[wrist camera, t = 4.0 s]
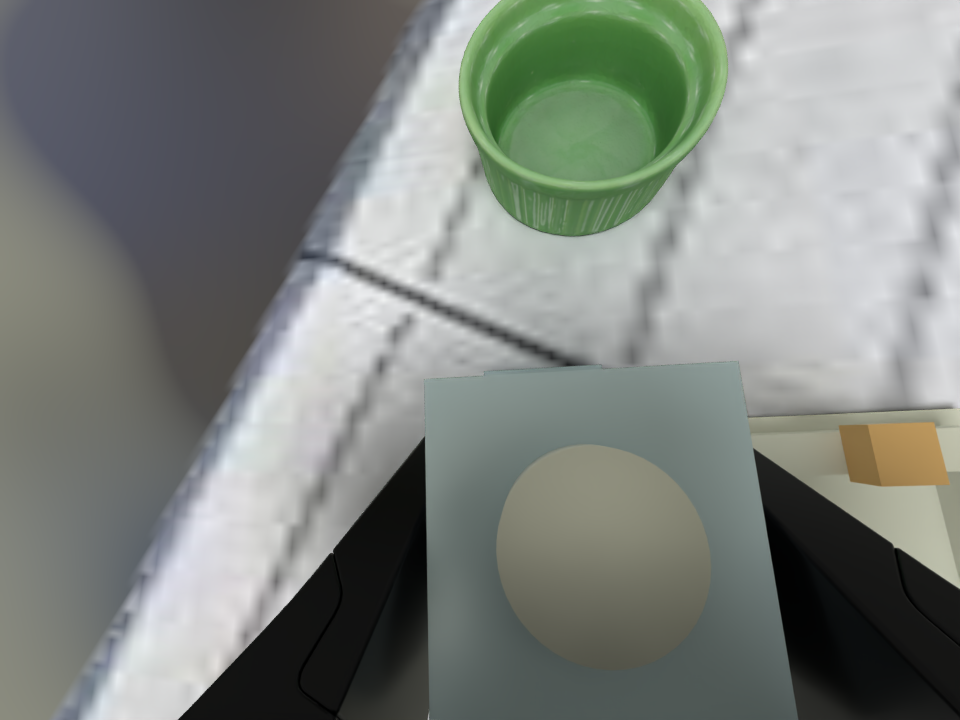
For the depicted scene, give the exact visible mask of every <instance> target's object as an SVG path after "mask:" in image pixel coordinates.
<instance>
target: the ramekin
mask: <svg viewBox="0 0 960 720" xmlns="http://www.w3.org/2000/svg"><path fill="white" fill-rule="evenodd" d="M727 76H728V58H727V50H726V45H725V42H724V39H723V36H722V33H721V30H720V28H719V26H718V24H717V22H716V21H715V19H714V17H713V15H712V13H711V12H710V11H709V10H708V8H707V7H706V6H705V5H704V4H703V3H702V1H701V0H501V1H500V2H499V3H498V4H497V5H496V6H495V7H494V8H493V9H492V10H491V11H490V12H489V13H488V14H487V15H486V16H485V18H484V19H483V20H482V21H481V23H480V24H479V26H478V27H477V28H476V30H475V32H474V33H473V35H472V37H471V39H470V41H469V43H468V45H467V48H466V50H465V52H464V56H463V59H462V63H461V68H460V74H459V98H460V105H461V109H462V113H463V117H464V120H465V122H466V125H467V128H468V130H469V132H470V134H471V136H472V138H473V140H474V142H475V144H476V146H477V147H478V150H479V153H480V157H481V160H482V164H483V168H484V171H485V175H486V178H487V180H488V183H489V185H490V187H491V190H492V192H493V193H494V195H495V196H496V198H497V200H498V201H499V202H500V204H501V205H502V206H503V207H504V208H505V209H506V210H507V211H508V212H509V213H510V214H511V215H512V216H513V217H515V218H516V219H517V220H519V221H521V222H522V223H524V224H526V225H528V226H529V227H532V228H534V229H537V230H539V231H543V232H547V233H551V234H558V235H566V236H579V235H587V234H593V233H597V232H601V231H605V230H607V229H610V228H612V227H615V226H617V225H619V224H621V223H623V222H624V221H626V220H628V219H630V218H631V217H633V216H634V215H635V214H637V213H638V212H639V211H641V210H642V209H643V208H644V207H645V206H646V205H647V204H648V203H649V202H650V201H651V200H652V198H653V197H654V196H655V194H656V193H657V192H658V191H659V189H660V188H661V187H662V185H663V184H664V183H665V181H666V180H667V178H668V177H669V175H670V174H671V172H672V171H673V169H674V168H675V167H676V165H677V164H678V163H679V162H680V161H681V160H683V159H684V158H685V156H686V155H687V154H688V153H689V152H690V151H691V150H692V149H693V148H694V147H695V146H696V144H697V143H698V142H699V141H700V139H701V138H702V137H703V135H704V134H705V133H706V131H707V130H708V128H709V126H710V125H711V123H712V121H713V119H714V117H715V116H716V113H717V111H718V109H719V107H720V104H721V102H722V99H723V96H724V92H725V87H726V83H727Z"/></svg>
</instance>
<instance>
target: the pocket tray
mask: <svg viewBox="0 0 960 720" xmlns="http://www.w3.org/2000/svg"><path fill="white" fill-rule="evenodd" d="M748 422H749V428H750V434H751V440H752V446H753V448H754V449H756V450H757V451H759V452H760V453H761V454H763V455H764V456H766V457H767V458H769V459H770V460H772V461H773V462H775V463H776V464H777V465H779V466H780V467H782V468H783V469H785V470H786V471H788V472H789V473H791V474H792V475H794V476H795V477H796V478H798V479H799V480H801V481H802V482H804V483H805V484H807V485H808V486H810V487H811V488H812V489H814V490H815V491H817V492H818V493H820V494H821V495H823V496H824V497H826V498H827V499H828V500H830V501H831V502H833V503H834V504H836V505H837V506H839V507H840V508H842V509H843V510H845V511H846V512H847V513H849V514H850V515H852V516H853V517H855V518H856V519H858V520H859V521H861V522H862V523H863V524H865V525H866V526H868V527H869V528H871V529H872V530H874V531H875V532H877V533H878V534H879V535H881V536H882V537H884V538H885V539H887V540H888V541H890V542H891V543H892V544H893V545H894V548H900V549H902V550H903V551H905V552H906V553H907V554H909V555H910V556H912V557H913V558H915V559H916V560H918V561H919V562H921V563H922V564H923V565H925V566H926V567H928V568H929V569H931V570H932V571H934V572H935V573H937V574H938V575H940V576H941V577H943V578H944V579H946V580H947V581H949V582H950V583H952V584H953V585H955V586H956V587H958V588H959V589H960V408H958V409H936V410H913V411H890V412H868V413H845V414H822V415H800V416H777V417H754V418H748Z"/></svg>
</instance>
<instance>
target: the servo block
mask: <svg viewBox="0 0 960 720" xmlns="http://www.w3.org/2000/svg"><path fill="white" fill-rule="evenodd" d="M424 398H425V463H426V529H427V594H428V659H429V720H798V715H797V709H796V703H795V697H794V691H793V685H792V679H791V673H790V667H789V661H788V655H787V649H786V643H785V637H784V631H783V625H782V619H781V613H780V607H779V601H778V595H777V589H776V583H775V577H774V571H773V565H772V559H771V553H770V547H769V541H768V536H767V530H766V524H765V518H764V512H763V506H762V500H761V494H760V488H759V482H758V476H757V470H756V464H755V458H754V452H753V446H752V440H751V434H750V428H749V422H748V416H747V410H746V404H745V398H744V392H743V386H742V380H741V374H740V368H739V362H738V361H730V362H713V363H696V364H679V365H661V366H644V367H627V368H609V369H602V365H585V366H568V367H551V368H535V369H518V370H501V371H484V376H471V377H454V378H437V379H424Z"/></svg>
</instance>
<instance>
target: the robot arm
mask: <svg viewBox="0 0 960 720" xmlns="http://www.w3.org/2000/svg"><path fill="white" fill-rule="evenodd" d="M753 452H754V458H755V464H756V470H757V476H758V482H759V488H760V494H761V500H762V506H763V512H764V518H765V524H766V530H767V536H768V541H769V547H770V553H771V559H772V565H773V571H774V577H775V583H776V589H777V595H778V601H779V607H780V613H781V619H782V625H783V631H784V637H785V643H786V649H787V655H788V661H789V667H790V673H791V679H792V685H793V691H794V697H795V703H796V709H797V715H798V720H960V589H959V588H958V587H956V586H955V585H953V584H952V583H950V582H949V581H947V580H946V579H944V578H943V577H941V576H940V575H938V574H937V573H935V572H934V571H932V570H931V569H929V568H928V567H926V566H925V565H923V564H922V563H921V562H919V561H918V560H916V559H915V558H913V557H912V556H910V555H909V554H907V553H906V552H905V551H903V550H902V549H900V548H894V545H893V544H892V543H891V542H890V541H888V540H887V539H885V538H884V537H882V536H881V535H879V534H878V533H877V532H875V531H874V530H872V529H871V528H869V527H868V526H866V525H865V524H863V523H862V522H861V521H859V520H858V519H856V518H855V517H853V516H852V515H850V514H849V513H847V512H846V511H845V510H843V509H842V508H840V507H839V506H837V505H836V504H834V503H833V502H831V501H830V500H828V499H827V498H826V497H824V496H823V495H821V494H820V493H818V492H817V491H815V490H814V489H812V488H811V487H810V486H808V485H807V484H805V483H804V482H802V481H801V480H799V479H798V478H796V477H795V476H794V475H792V474H791V473H789V472H788V471H786V470H785V469H783V468H782V467H780V466H779V465H777V464H776V463H775V462H773V461H772V460H770V459H769V458H767V457H766V456H764V455H763V454H761V453H760V452H759V451H757V450H756V449H754V448H753ZM333 553H334V554H333ZM333 553H330V554H329V555H328V557H327V558H326V559H325V560H324V561H323V563H322V564H321V565H320V566H319V568H318V569H317V570H316V571H315V573H314V574H313V575H312V576H311V577H310V578H309V580H308V581H307V582H306V583H305V584H304V586H303V587H302V588H301V589H300V590H299V591H298V593H297V594H296V595H295V596H294V597H293V599H292V600H291V601H290V602H289V603H288V604H287V605H286V606H285V607H284V608H283V610H282V611H281V612H280V613H279V614H278V615H277V616H276V617H275V618H274V619H273V620H272V622H271V623H270V624H269V625H268V626H267V627H266V628H265V629H264V630H263V631H262V632H261V633H260V634H259V636H258V637H257V638H256V639H255V640H254V641H253V642H252V643H251V644H250V645H249V646H248V647H247V648H246V649H245V650H244V651H243V652H242V653H241V654H240V656H239V657H238V658H237V659H236V660H235V661H234V662H233V663H232V664H231V665H230V666H229V667H228V668H227V669H226V670H225V671H224V672H223V673H222V674H221V676H220V677H219V678H218V679H217V680H216V681H215V682H214V683H213V684H212V685H211V686H210V687H209V688H208V689H207V690H206V691H205V692H204V693H203V694H202V695H201V697H200V698H199V699H198V700H197V701H196V702H195V703H194V704H193V705H192V706H191V707H190V708H189V709H188V710H187V711H186V712H185V713H184V714H183V715H182V716H181V717H180V718H179V719H178V720H428V713H429V659H428V594H427V529H426V463H425V437H424V438H423V439H422V440H421V442H420V443H419V444H418V445H417V447H416V448H415V449H414V450H413V452H412V453H411V454H410V455H409V456H408V458H407V459H406V460H405V461H404V463H403V464H402V465H401V466H400V468H399V469H398V470H397V471H396V473H395V474H394V475H393V476H392V478H391V479H390V480H389V481H388V482H387V484H386V485H385V486H384V487H383V489H382V490H381V491H380V492H379V494H378V495H377V496H376V497H375V499H374V500H373V501H372V502H371V504H370V505H369V506H368V507H367V508H366V510H365V511H364V512H363V513H362V515H361V516H360V517H359V518H358V520H357V521H356V522H355V523H354V525H353V526H352V527H351V528H350V530H349V531H348V532H347V533H346V534H345V536H344V537H343V538H342V539H341V541H340V542H339V543H338V544H337V546H336V547H335V548H334V550H333Z"/></svg>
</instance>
